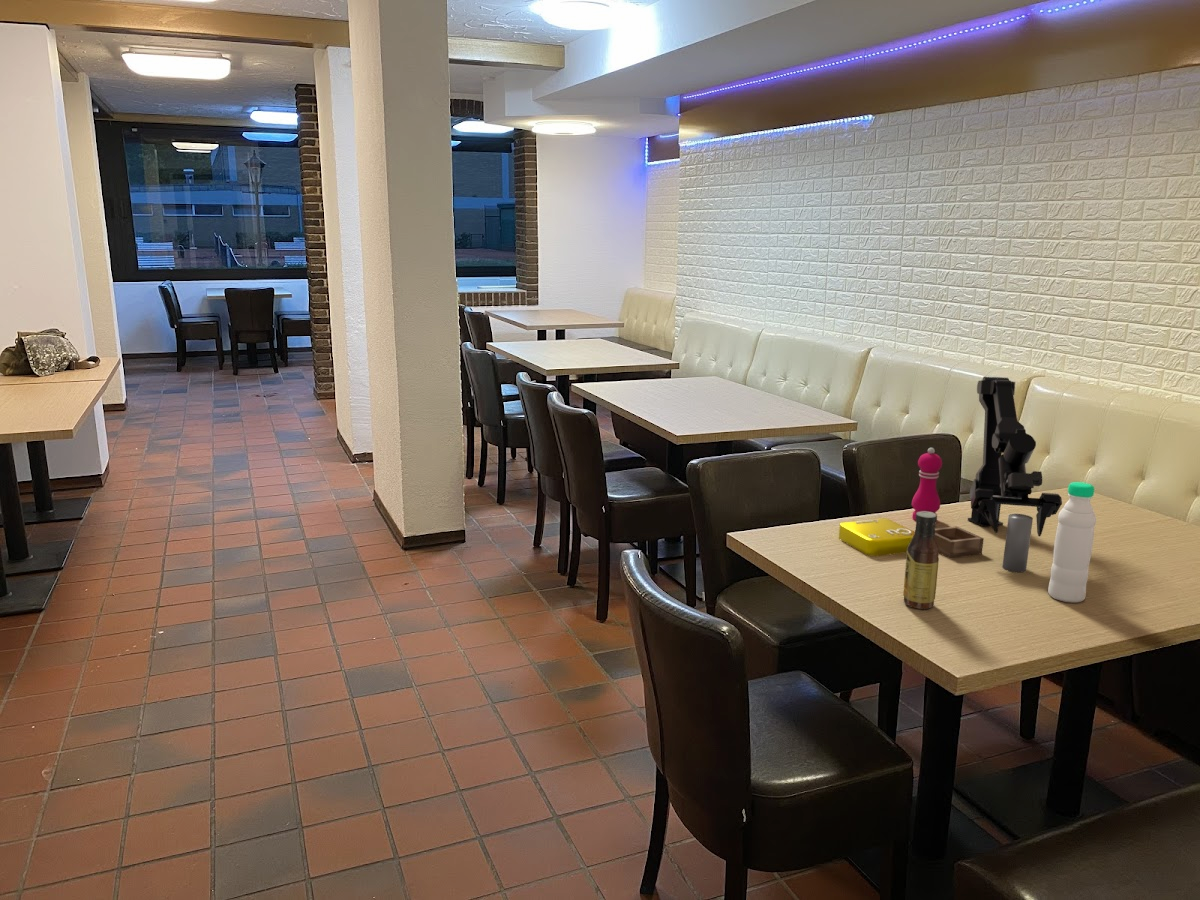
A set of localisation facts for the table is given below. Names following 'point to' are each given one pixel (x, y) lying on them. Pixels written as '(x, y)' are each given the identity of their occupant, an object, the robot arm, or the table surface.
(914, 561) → the sauce bottle
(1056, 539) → the water bottle
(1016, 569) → the charcoal canister
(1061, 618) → the table surface
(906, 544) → the element tile
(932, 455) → the pepper mill
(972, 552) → the walnut socket
